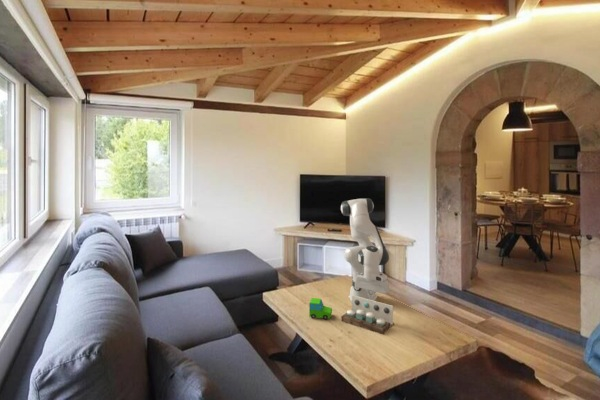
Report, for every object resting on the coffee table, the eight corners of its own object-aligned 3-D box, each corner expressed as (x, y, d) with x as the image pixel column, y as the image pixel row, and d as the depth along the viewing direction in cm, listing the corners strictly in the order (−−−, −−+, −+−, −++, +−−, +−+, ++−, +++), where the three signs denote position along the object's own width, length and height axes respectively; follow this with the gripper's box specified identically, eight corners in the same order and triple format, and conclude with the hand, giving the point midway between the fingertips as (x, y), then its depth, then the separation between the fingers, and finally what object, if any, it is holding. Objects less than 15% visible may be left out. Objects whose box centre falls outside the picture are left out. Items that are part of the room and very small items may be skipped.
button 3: (368, 318, 207) (368, 311, 207) (375, 320, 205) (376, 313, 204) (364, 321, 204) (364, 314, 203) (372, 323, 201) (372, 316, 200)
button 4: (378, 324, 204) (378, 317, 203) (386, 327, 201) (386, 319, 200) (374, 327, 200) (375, 320, 200) (382, 330, 197) (382, 323, 197)
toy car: (330, 321, 211) (330, 305, 210) (309, 319, 213) (309, 303, 212) (332, 314, 221) (332, 298, 220) (311, 312, 223) (311, 297, 222)
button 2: (358, 315, 211) (358, 308, 211) (365, 317, 209) (366, 310, 208) (354, 318, 208) (355, 311, 207) (362, 320, 205) (362, 313, 204)
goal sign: (353, 312, 223) (353, 294, 222) (393, 324, 207) (394, 305, 205) (350, 314, 220) (350, 296, 218) (391, 326, 204) (391, 307, 202)
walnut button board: (349, 315, 218) (349, 310, 218) (390, 327, 202) (390, 322, 202) (341, 321, 211) (341, 316, 210) (383, 334, 194) (383, 329, 194)
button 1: (349, 316, 215) (349, 309, 215) (356, 318, 213) (356, 311, 212) (345, 318, 212) (345, 311, 211) (352, 320, 209) (352, 314, 208)
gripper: (353, 272, 205) (352, 295, 206) (385, 279, 193) (385, 303, 194) (358, 270, 210) (357, 292, 211) (390, 276, 198) (389, 299, 199)
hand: (371, 297), depth 202 cm, fingers closed
